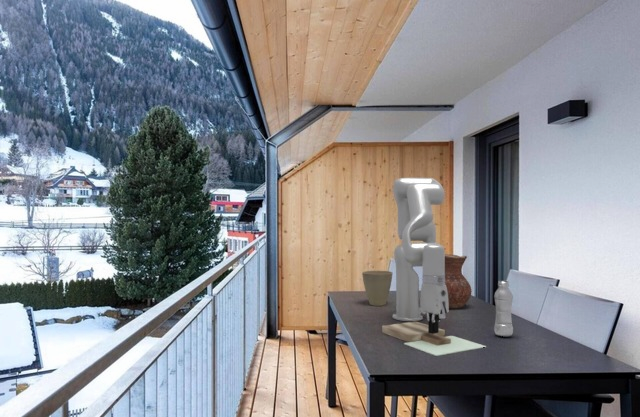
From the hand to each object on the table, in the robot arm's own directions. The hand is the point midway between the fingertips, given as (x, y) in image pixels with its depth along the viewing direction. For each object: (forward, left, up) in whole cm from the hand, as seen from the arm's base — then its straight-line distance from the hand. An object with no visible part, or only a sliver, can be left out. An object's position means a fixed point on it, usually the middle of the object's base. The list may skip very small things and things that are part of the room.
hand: (433, 332), depth 167 cm
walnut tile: (0, +1, -2) cm, 2 cm away
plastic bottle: (-28, +6, -3) cm, 29 cm away
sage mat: (0, +6, -3) cm, 6 cm away
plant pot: (-23, -66, -3) cm, 70 cm away
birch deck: (0, -11, -3) cm, 11 cm away
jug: (-51, -47, -3) cm, 69 cm away
